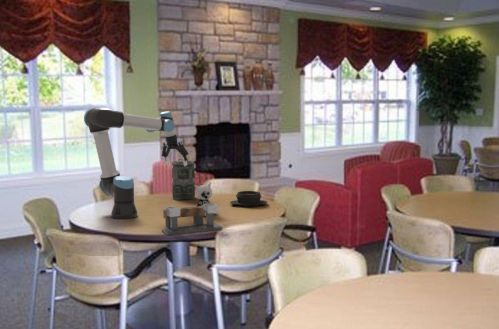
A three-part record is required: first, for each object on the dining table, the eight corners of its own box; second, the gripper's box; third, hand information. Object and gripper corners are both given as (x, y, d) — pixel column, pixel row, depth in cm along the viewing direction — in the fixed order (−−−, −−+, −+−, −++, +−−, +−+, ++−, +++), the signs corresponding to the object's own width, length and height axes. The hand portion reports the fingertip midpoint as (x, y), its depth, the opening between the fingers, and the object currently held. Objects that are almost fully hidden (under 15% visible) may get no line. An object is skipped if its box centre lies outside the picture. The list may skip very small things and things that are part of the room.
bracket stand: (167, 235, 272) (167, 210, 271) (161, 231, 281) (161, 206, 280) (222, 229, 285) (222, 205, 283) (215, 225, 294) (215, 202, 292)
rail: (165, 218, 288) (165, 210, 287) (163, 217, 291) (163, 209, 291) (205, 215, 297) (204, 207, 297) (202, 213, 301) (202, 206, 300)
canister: (168, 199, 373) (168, 159, 370) (178, 195, 388) (177, 157, 385) (189, 200, 369) (189, 160, 366) (198, 197, 384) (198, 158, 381)
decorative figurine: (193, 217, 315) (193, 183, 313) (190, 212, 329) (190, 180, 327) (218, 216, 319) (218, 183, 316) (214, 211, 333) (214, 179, 330)
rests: (168, 228, 288) (168, 218, 288) (165, 226, 293) (165, 217, 292) (203, 224, 297) (203, 215, 296) (200, 222, 301) (200, 213, 301)
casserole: (265, 202, 364) (265, 190, 363) (269, 207, 346) (269, 194, 345) (228, 202, 362) (228, 190, 361) (230, 208, 343) (230, 195, 343)
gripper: (189, 132, 347) (196, 163, 353) (158, 134, 360) (165, 164, 365) (182, 135, 341) (189, 167, 347) (152, 137, 353) (159, 168, 359)
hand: (177, 165), depth 356 cm, fingers open, 13 cm apart
